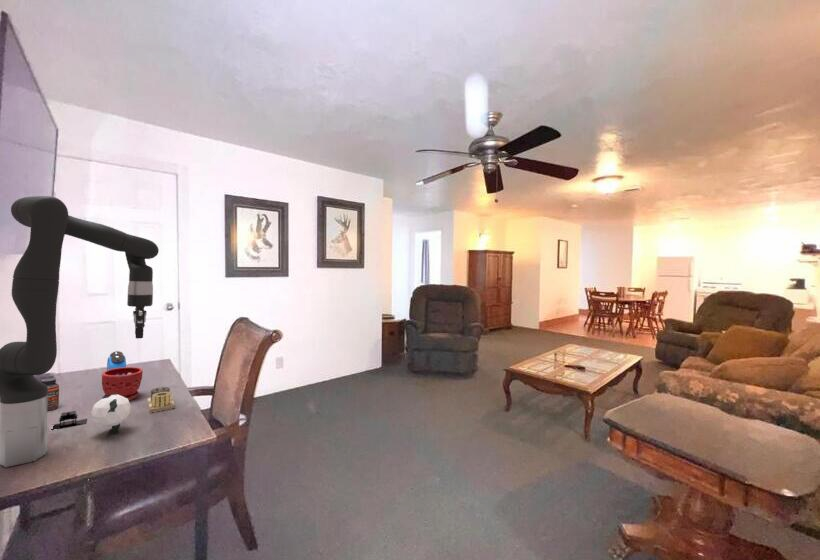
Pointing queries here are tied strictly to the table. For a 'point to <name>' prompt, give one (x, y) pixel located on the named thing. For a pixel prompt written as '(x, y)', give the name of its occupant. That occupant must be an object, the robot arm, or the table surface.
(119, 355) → the alarm clock
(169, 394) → the brass gear
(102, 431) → the table surface
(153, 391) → the gear board
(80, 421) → the black flared hood
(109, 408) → the figurine
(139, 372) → the plant pot
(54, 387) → the supplement bottle
